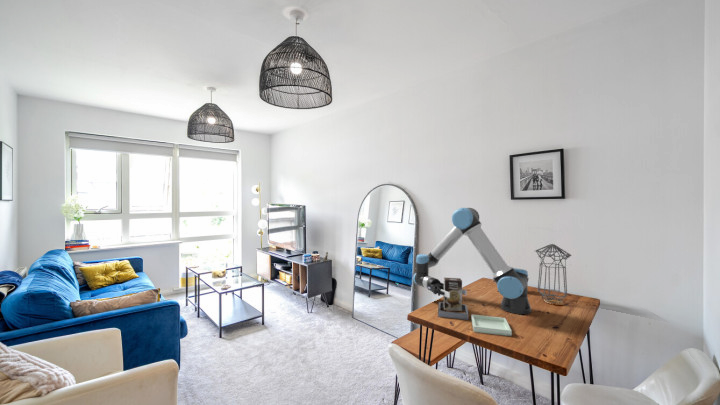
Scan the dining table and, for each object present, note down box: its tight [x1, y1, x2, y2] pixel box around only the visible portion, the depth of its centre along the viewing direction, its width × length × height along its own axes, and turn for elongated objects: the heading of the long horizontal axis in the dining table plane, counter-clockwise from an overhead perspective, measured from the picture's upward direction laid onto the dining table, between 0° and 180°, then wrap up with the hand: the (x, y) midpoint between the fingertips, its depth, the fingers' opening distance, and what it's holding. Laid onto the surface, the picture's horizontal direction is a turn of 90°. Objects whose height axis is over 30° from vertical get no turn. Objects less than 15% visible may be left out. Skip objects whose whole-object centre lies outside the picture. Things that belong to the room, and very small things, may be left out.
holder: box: [437, 301, 469, 321], centre depth 167 cm, size 15×15×3 cm
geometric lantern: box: [534, 243, 572, 301], centre depth 191 cm, size 16×16×35 cm
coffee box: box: [442, 277, 463, 312], centre depth 167 cm, size 9×6×16 cm
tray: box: [470, 314, 513, 337], centre depth 148 cm, size 16×16×2 cm
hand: (457, 294), depth 163 cm, fingers closed on coffee box, 10 cm apart
